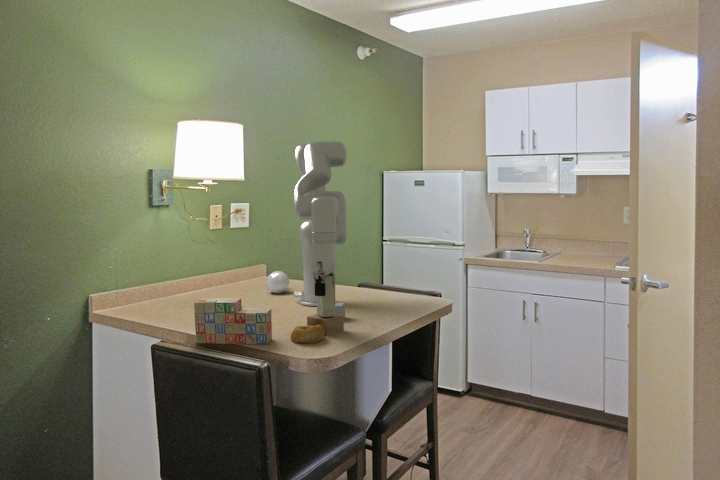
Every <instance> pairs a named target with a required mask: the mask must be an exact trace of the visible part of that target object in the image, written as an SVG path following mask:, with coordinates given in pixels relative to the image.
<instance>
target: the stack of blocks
mask: <svg viewBox="0 0 720 480" xmlns="http://www.w3.org/2000/svg"><path fill="white" fill-rule="evenodd" d="M193 305H194V324H195V326H194V328H195V343H197V344H217V345H218V344H221V345H222V344H224V345H225V344H226V345H227V344H229V345H231V344H232V345H233V344H234V345H236V344H239V345H267V344H269V343H270V341H271V340H272V339H273V332H272V328H273V327H272V326H273V324H272V318H273V317H272V308H261V307H260V308H255V307H254V308H253V307H251V308H249V307H248V308H247V307H246V308H245V307H243V306H242V298H239V297H238V298H237V297H236V298H234V297H233V298H231V297H228V298H227V297H226V298H225V297H223V298H222V297H221V298H218V297H217V298H216V297H215V298H210V297H209V298H207V297H203V298H200V299H198V300H197V301H195V302H193Z"/></svg>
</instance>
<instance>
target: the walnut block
mask: <svg viewBox="0 0 720 480" xmlns="http://www.w3.org/2000/svg"><path fill="white" fill-rule="evenodd" d="M344 320H345V318H344V315H338V314H335V316H331V317H322V316H320V315H318V314H317V313H315V314H313V315H312V314H311V315H310V316H309V315H308V316H306V326H309V325H312V326H315V325H321V326H322V328H323V329H324V337H325V336H326V337H328V336H331V335H333V334H338V333H341V332H343V331H344V330H345V326H344V325H345V322H344Z"/></svg>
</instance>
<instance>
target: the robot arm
mask: <svg viewBox="0 0 720 480" xmlns="http://www.w3.org/2000/svg"><path fill="white" fill-rule="evenodd" d="M294 154H295V156H294V157H295V162H296V165H297V168H298V170H299V172H300V175H301V178H299V180H298V182H297V183H296V184H295V187H294V191H293V204H294V205H293V206H294V213H295V215H296V217H297V218H298V219H300V220H307V221H304V222H302V224H301V225H300V228H299V232H300V233H299V235H300V239H301V241H300V242H301V248H302V266H303V268H302V269H303V272H302V273H303V290H301V291H294V292H293V296H294V297H295V298H301V299H300V300H299V304H300V305H302V306H309V307H317V296H325V283H324V280H325V276H327V275H330V276H333V277H336V275H335V274H336V273H335V270H336V252H335V249H336V248H335V246H340V245H343V244H345V243H346V241H347V235H348V234H347V229H348V227H347V226H348V225H347V202H346V197H345V195H344V193H343V192H341V191H339V190H338V191H337V190H327V189H326V185H327V184H328V183H329V182H330V181H331V179H332V170H331V168H340V167H344V165H345V164H346V163H347V162H346V161H347V154H348V153H347V149H346V146H345V145H344V143H343V142H341V141H335V140H334V141H325V140H324V141H322V140H321V141H312V142H310V143H305V144H300V145H298V146H296V148H295V153H294ZM321 276H322V278H321Z"/></svg>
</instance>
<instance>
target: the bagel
mask: <svg viewBox="0 0 720 480" xmlns="http://www.w3.org/2000/svg"><path fill="white" fill-rule="evenodd" d="M324 337H325V335H324V329H323V328H322V326H321V325H315V326H312V325H309V326H307V325H301V326H298V325H297V326H295V328H294V329H293V330H292V331H291V333H290V340H291V342H294V343H296V342H297V344H298V343H300V344H315V343H316V344H317V343H320V342H322V341H323V340H324ZM319 341H320V342H319Z"/></svg>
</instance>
